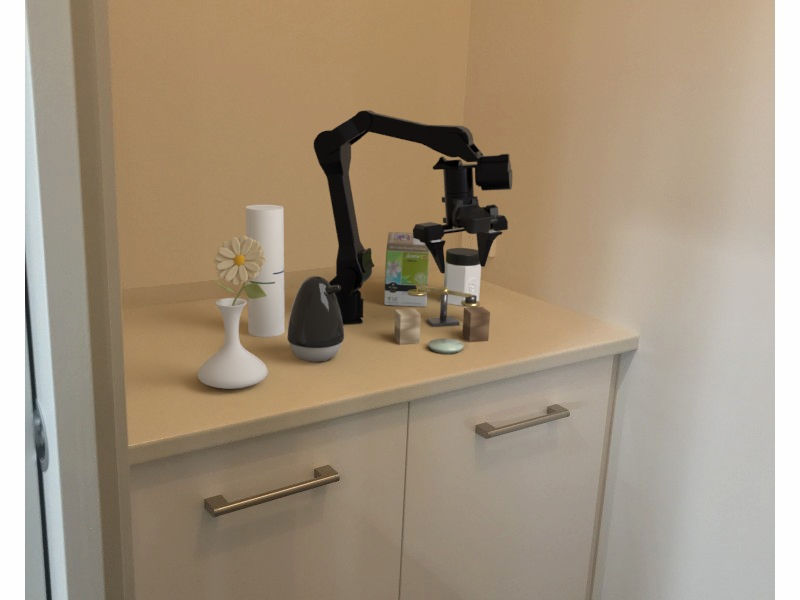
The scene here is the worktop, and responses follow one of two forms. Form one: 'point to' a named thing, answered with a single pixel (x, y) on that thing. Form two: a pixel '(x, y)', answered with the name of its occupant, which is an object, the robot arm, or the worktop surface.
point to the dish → (446, 346)
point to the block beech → (407, 326)
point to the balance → (444, 303)
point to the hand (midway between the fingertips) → (462, 269)
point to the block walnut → (476, 324)
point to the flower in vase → (235, 317)
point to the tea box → (405, 269)
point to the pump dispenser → (315, 321)
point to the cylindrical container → (267, 270)
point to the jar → (462, 273)
